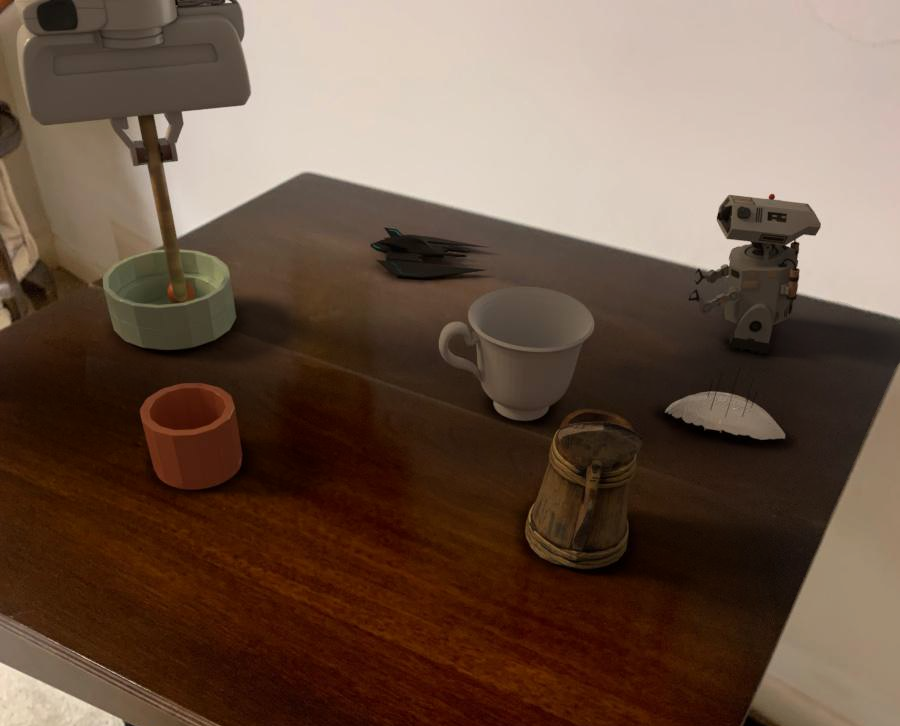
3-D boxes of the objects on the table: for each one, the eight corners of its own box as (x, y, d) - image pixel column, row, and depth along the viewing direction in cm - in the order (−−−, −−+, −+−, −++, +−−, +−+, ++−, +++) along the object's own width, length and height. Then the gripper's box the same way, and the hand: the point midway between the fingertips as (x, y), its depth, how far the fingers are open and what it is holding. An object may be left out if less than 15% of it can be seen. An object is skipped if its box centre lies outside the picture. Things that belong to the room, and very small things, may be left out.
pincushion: (786, 425, 90) (804, 377, 86) (779, 459, 86) (798, 410, 82) (670, 398, 93) (682, 350, 89) (659, 429, 89) (671, 381, 85)
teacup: (424, 381, 93) (425, 292, 86) (557, 368, 96) (570, 281, 89) (450, 449, 85) (455, 357, 78) (595, 433, 88) (613, 343, 81)
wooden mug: (511, 600, 72) (536, 414, 59) (531, 495, 81) (556, 314, 68) (620, 618, 71) (671, 433, 58) (628, 510, 80) (673, 330, 67)
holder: (141, 485, 80) (126, 430, 75) (170, 432, 85) (158, 378, 81) (228, 494, 79) (218, 440, 75) (252, 440, 85) (244, 386, 81)
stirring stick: (172, 302, 97) (132, 102, 82) (177, 296, 98) (137, 97, 83) (186, 304, 97) (147, 103, 82) (190, 297, 98) (153, 98, 83)
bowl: (96, 348, 95) (83, 300, 91) (139, 290, 104) (129, 244, 100) (216, 360, 94) (208, 312, 90) (249, 300, 104) (243, 254, 100)
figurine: (685, 304, 107) (717, 176, 97) (781, 320, 106) (825, 192, 95) (677, 341, 101) (711, 209, 90) (780, 359, 99) (826, 226, 89)
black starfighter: (377, 235, 117) (377, 213, 115) (490, 245, 116) (492, 223, 114) (363, 274, 109) (362, 251, 107) (484, 285, 108) (485, 262, 106)
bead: (166, 310, 100) (161, 285, 98) (175, 297, 102) (170, 273, 100) (192, 313, 100) (187, 288, 98) (200, 300, 102) (196, 275, 100)
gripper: (231, -21, 82) (250, 138, 92) (-6, -8, 76) (42, 162, 86) (249, -4, 78) (266, 161, 88) (1, 12, 72) (50, 187, 82)
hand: (154, 161), depth 87 cm, fingers closed on stirring stick, 1 cm apart
